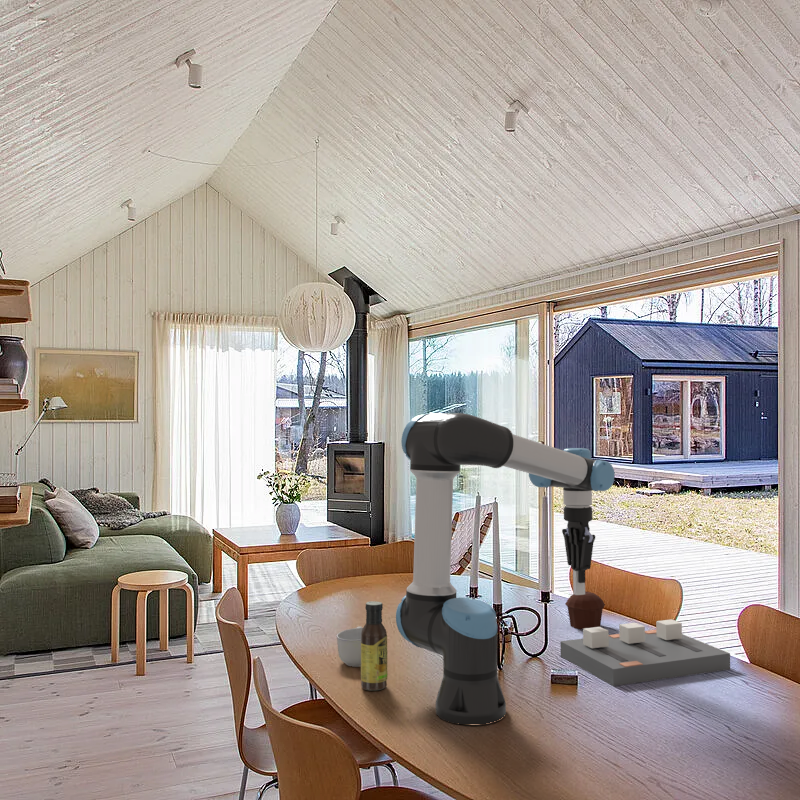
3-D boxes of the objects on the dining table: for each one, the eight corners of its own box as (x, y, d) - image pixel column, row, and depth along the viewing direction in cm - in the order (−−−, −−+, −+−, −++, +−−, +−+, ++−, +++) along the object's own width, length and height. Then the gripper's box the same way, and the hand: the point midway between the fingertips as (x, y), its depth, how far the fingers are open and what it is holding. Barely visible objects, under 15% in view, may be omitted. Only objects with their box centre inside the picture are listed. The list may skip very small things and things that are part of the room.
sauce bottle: (383, 693, 182) (383, 607, 182) (357, 691, 184) (357, 605, 184) (390, 683, 188) (389, 600, 189) (365, 682, 190) (364, 599, 190)
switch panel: (730, 669, 196) (730, 652, 196) (613, 686, 185) (613, 668, 185) (668, 642, 219) (667, 627, 219) (560, 656, 208) (560, 640, 208)
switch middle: (645, 641, 205) (644, 626, 205) (628, 643, 204) (628, 628, 204) (635, 637, 209) (635, 622, 209) (619, 639, 208) (619, 624, 208)
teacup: (373, 671, 198) (372, 639, 198) (331, 669, 200) (331, 637, 200) (385, 654, 211) (385, 624, 211) (346, 652, 213) (346, 622, 214)
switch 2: (681, 638, 208) (681, 623, 208) (666, 640, 207) (665, 624, 207) (672, 634, 212) (671, 619, 212) (656, 636, 210) (656, 621, 210)
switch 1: (608, 646, 202) (608, 630, 202) (591, 648, 200) (591, 632, 200) (599, 642, 206) (599, 626, 206) (583, 644, 204) (583, 628, 204)
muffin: (592, 619, 244) (592, 587, 244) (612, 629, 233) (612, 595, 234) (558, 623, 240) (558, 590, 240) (577, 632, 230) (577, 598, 230)
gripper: (603, 507, 206) (605, 598, 206) (577, 502, 218) (578, 587, 218) (578, 509, 203) (580, 601, 203) (553, 503, 216) (554, 590, 216)
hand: (579, 594), depth 211 cm, fingers closed
